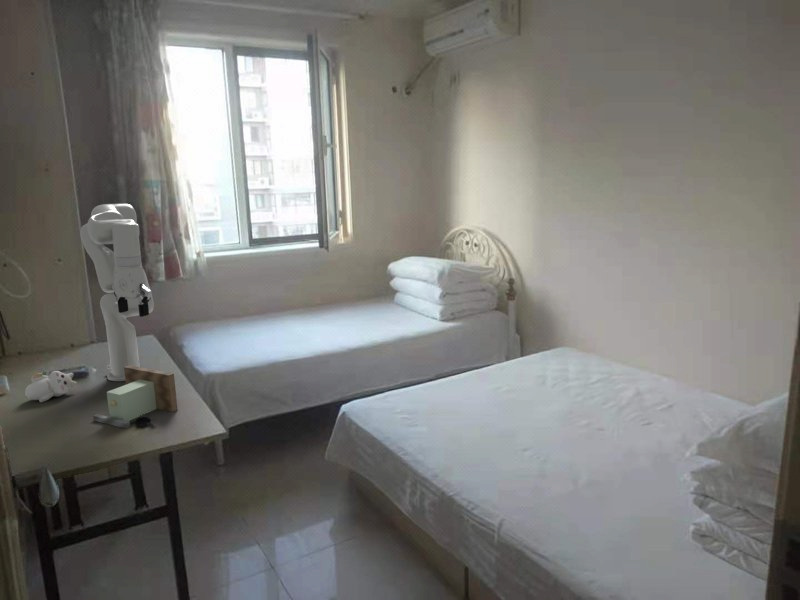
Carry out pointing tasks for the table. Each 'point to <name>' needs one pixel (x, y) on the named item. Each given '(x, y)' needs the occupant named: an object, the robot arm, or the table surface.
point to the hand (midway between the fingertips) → (133, 313)
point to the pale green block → (131, 400)
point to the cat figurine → (49, 385)
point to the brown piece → (162, 387)
